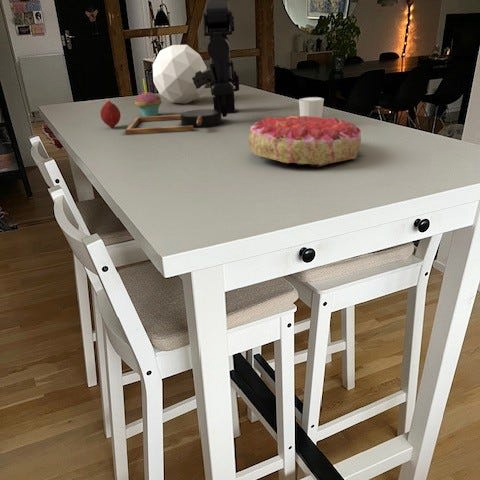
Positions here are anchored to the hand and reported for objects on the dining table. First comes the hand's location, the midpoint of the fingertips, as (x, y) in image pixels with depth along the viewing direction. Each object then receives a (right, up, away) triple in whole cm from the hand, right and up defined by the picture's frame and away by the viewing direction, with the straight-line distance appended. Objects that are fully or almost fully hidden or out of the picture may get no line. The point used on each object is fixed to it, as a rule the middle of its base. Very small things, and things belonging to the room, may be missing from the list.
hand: (224, 116), depth 154 cm
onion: (-34, -3, +2) cm, 34 cm away
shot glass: (+24, -6, -10) cm, 27 cm away
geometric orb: (-17, +20, +37) cm, 45 cm away
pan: (-7, -4, -2) cm, 8 cm away
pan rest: (-19, -2, +1) cm, 19 cm away
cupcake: (-25, +7, +17) cm, 31 cm away
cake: (+19, -23, -37) cm, 48 cm away
